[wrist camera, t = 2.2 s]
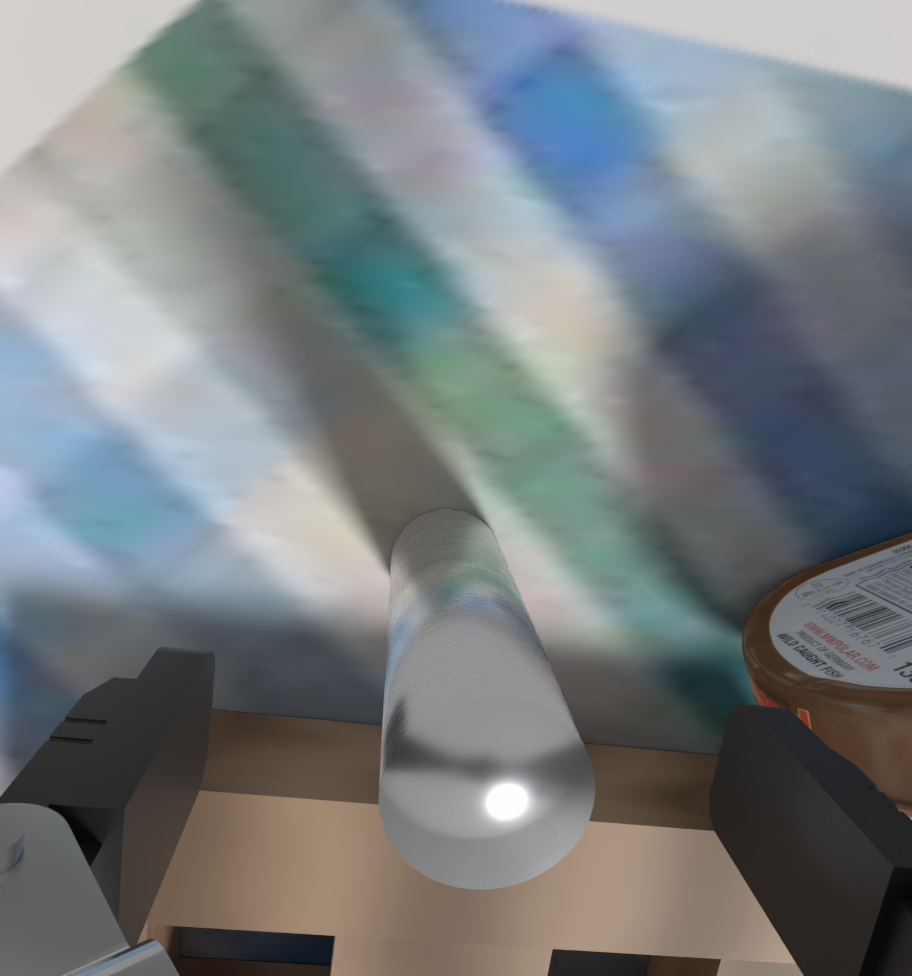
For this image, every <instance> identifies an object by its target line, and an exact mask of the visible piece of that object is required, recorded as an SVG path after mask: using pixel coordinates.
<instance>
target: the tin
mask: <svg viewBox="0 0 912 976" xmlns="http://www.w3.org/2000/svg"><path fill="white" fill-rule="evenodd" d="M742 648H743V655H744V660H745V665H746V669H747V673H748V676H749V680H750V683H751V687H752V690H753V693H754V697H755V700H756V703H757V705H761V706H771V707H781V708H788V709H790V710H791V711H792V712H794V713H795V714H796V715H797V716H798V717H799V718H800V719H801V720H802V721H803V722H804V723H805V724H806V725H807V726H808V727H809V728H810V729H811V730H812V731H813V732H814V733H815V734H816V735H817V736H818V737H819V738H820V739H821V740H822V741H823V742H824V743H825V744H826V745H827V746H828V747H829V748H830V749H832V750H834V751H835V752H837V753H838V754H840V755H841V756H843V757H844V758H846V759H848V760H849V761H851V762H852V763H854V764H855V765H856V766H857V767H858V768H859V769H860V770H861V771H862V772H863V773H864V774H865V775H866V776H867V777H868V778H869V779H870V780H871V781H872V782H873V783H874V784H875V785H876V786H878V791H879V792H884V793H885V794H886V795H887V796H888V797H889V798H890V799H891V800H892V801H893V802H894V803H895V804H896V805H897V806H898V811H900V812H904V813H905V814H906V815H907V816H908V817H909V818H912V532H911V533H908V534H905V535H902V536H899V537H896V538H893V539H890V540H887V541H884V542H881V543H879V544H876V545H873V546H870V547H867V548H864V549H862V550H859V551H856V552H853V553H850V554H847V555H845V556H842V557H839V558H836V559H833V560H830V561H828V562H825V563H822V564H820V565H817V566H815V567H812V568H810V569H807V570H805V571H803V572H801V573H799V574H797V575H795V576H793V577H791V578H790V579H788V580H786V581H784V582H783V583H781V584H780V585H778V586H777V587H776V588H774V589H773V590H771V591H770V592H769V593H767V594H766V595H765V596H764V597H763V598H762V599H761V600H760V601H759V602H758V603H757V604H756V605H755V607H754V608H753V609H752V611H751V612H750V614H749V616H748V618H747V620H746V622H745V625H744V628H743V633H742Z"/></svg>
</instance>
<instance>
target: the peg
mask: <svg viewBox="0 0 912 976" xmlns="http://www.w3.org/2000/svg"><path fill="white" fill-rule="evenodd" d="M594 799H595V777H594V771H593V766H592V763H591V760H590V757H589V755H588V752H587V750H586V747H585V745H584V743H583V740H582V738H581V736H580V733H579V731H578V729H577V726H576V724H575V722H574V719H573V717H572V715H571V712H570V710H569V707H568V705H567V703H566V700H565V698H564V696H563V693H562V691H561V689H560V686H559V684H558V682H557V679H556V677H555V675H554V672H553V670H552V668H551V665H550V663H549V660H548V658H547V656H546V653H545V651H544V649H543V646H542V644H541V642H540V639H539V637H538V635H537V632H536V630H535V628H534V625H533V623H532V621H531V618H530V616H529V613H528V611H527V609H526V606H525V604H524V602H523V599H522V597H521V595H520V592H519V590H518V588H517V585H516V583H515V581H514V578H513V576H512V574H511V571H510V569H509V566H508V564H507V562H506V559H505V557H504V555H503V552H502V550H501V548H500V545H499V543H498V541H497V539H496V537H495V535H494V533H493V532H492V530H491V529H490V528H489V527H488V526H487V525H486V524H485V523H484V522H483V521H482V520H481V519H479V518H477V517H476V516H474V515H472V514H470V513H468V512H465V511H461V510H456V509H439V510H433V511H430V512H427V513H424V514H422V515H420V516H418V517H417V518H415V519H414V520H412V521H411V522H410V523H409V524H408V525H407V526H406V527H405V528H404V529H403V530H402V531H401V533H400V534H399V536H398V538H397V540H396V542H395V544H394V547H393V550H392V555H391V570H390V589H389V608H388V628H387V647H386V666H385V685H384V705H383V724H382V743H381V762H380V781H379V812H380V817H381V821H382V825H383V827H384V830H385V832H386V835H387V837H388V839H389V840H390V842H391V844H392V845H393V847H394V849H395V850H396V851H397V852H398V853H399V855H400V856H401V857H402V858H403V859H404V860H405V861H406V862H407V863H408V864H409V865H410V866H412V867H413V868H414V869H416V870H417V871H419V872H420V873H421V874H423V875H425V876H427V877H429V878H431V879H433V880H435V881H438V882H440V883H443V884H446V885H450V886H454V887H458V888H465V889H479V890H487V889H497V888H503V887H508V886H512V885H516V884H519V883H522V882H525V881H527V880H529V879H532V878H534V877H536V876H538V875H540V874H541V873H543V872H545V871H546V870H548V869H550V868H551V867H552V866H554V865H555V864H556V863H558V862H559V861H560V860H561V859H562V858H563V857H564V856H565V855H566V854H567V853H568V852H569V851H570V850H571V849H572V848H573V847H574V845H575V844H576V843H577V841H578V840H579V839H580V837H581V835H582V834H583V832H584V830H585V828H586V826H587V824H588V821H589V819H590V816H591V813H592V809H593V806H594Z"/></svg>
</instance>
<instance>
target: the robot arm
mask: <svg viewBox="0 0 912 976" xmlns="http://www.w3.org/2000/svg"><path fill="white" fill-rule="evenodd" d="M214 669H215V658H214V653H213V652H209V651H199V650H188V649H178V648H167V647H160V648H159V649H158V650H157V651H156V653H155V654H154V655H153V657H152V658H151V660H150V661H149V662H148V664H147V665H146V667H145V668H144V670H143V671H142V672H141V674H140V675H139V677H138V678H137V679H125V678H113V679H111V680H109V681H107V682H106V683H104V684H102V685H100V686H99V687H97V688H95V689H93V690H92V691H90V692H88V693H86V694H84V695H83V696H82V698H81V699H80V700H79V701H78V702H77V704H76V705H75V706H74V707H73V709H72V710H71V711H70V712H69V714H68V715H67V716H66V717H65V721H64V722H61V723H60V725H59V726H58V727H57V728H56V729H55V731H54V732H53V733H52V734H51V736H50V739H49V741H46V742H45V743H44V744H43V745H42V747H41V748H40V749H39V750H38V752H37V753H36V754H35V755H34V756H33V758H32V759H31V760H30V761H29V763H28V764H27V765H26V766H25V767H24V769H23V770H22V771H21V772H20V774H19V775H18V776H17V777H16V779H15V780H14V781H13V782H12V783H11V785H10V786H9V787H8V788H7V790H6V791H5V792H4V793H3V794H2V796H1V797H0V976H179V974H178V972H177V970H176V968H175V967H174V965H173V963H172V961H171V959H170V957H169V956H168V954H167V952H166V951H165V949H164V948H163V947H162V946H161V944H160V943H159V942H157V941H156V940H154V939H147V940H145V941H143V942H141V943H138V944H137V942H138V940H139V938H140V935H141V933H142V930H143V928H144V925H145V923H146V920H147V918H148V916H149V913H150V911H151V908H152V906H153V903H154V901H155V898H156V896H157V894H158V891H159V889H160V886H161V884H162V881H163V879H164V876H165V874H166V872H167V869H168V867H169V864H170V862H171V859H172V857H173V854H174V852H175V850H176V847H177V845H178V842H179V840H180V837H181V835H182V832H183V830H184V827H185V825H186V823H187V820H188V818H189V815H190V813H191V810H192V808H193V805H194V803H195V801H196V798H197V796H198V793H199V790H200V787H201V783H202V779H203V775H204V771H205V766H206V760H207V753H208V744H209V731H210V719H211V707H212V694H213V682H214ZM709 806H710V816H711V821H712V825H713V828H714V830H715V833H716V835H717V836H718V838H719V840H720V841H721V843H722V845H723V846H724V848H725V849H726V851H727V853H728V854H729V856H730V857H731V859H732V861H733V862H734V864H735V866H736V867H737V869H738V870H739V872H740V874H741V875H742V877H743V878H744V880H745V882H746V883H747V885H748V887H749V888H750V890H751V891H752V893H753V895H754V896H755V898H756V900H757V901H758V903H759V904H760V906H761V908H762V909H763V911H764V912H765V914H766V916H767V917H768V919H769V921H770V922H771V924H772V925H773V927H774V929H775V930H776V932H777V933H778V935H779V937H780V938H781V940H782V942H783V943H784V945H785V946H786V948H787V950H788V951H789V953H790V955H791V956H792V958H793V959H794V961H795V963H796V964H797V966H798V967H799V969H800V971H801V972H802V974H803V976H912V820H911V819H910V818H909V817H908V816H907V815H906V814H905V813H904V812H900V811H898V806H897V805H896V804H895V803H894V802H893V801H892V800H891V799H890V798H889V797H888V796H887V795H886V794H885V793H884V792H879V791H878V786H876V785H875V784H874V783H873V782H872V781H871V780H870V779H869V778H868V777H867V776H866V775H865V774H864V773H863V772H862V771H861V770H860V769H859V768H858V767H857V766H856V765H855V764H854V763H852V762H851V761H849V760H848V759H846V758H844V757H843V756H841V755H840V754H838V753H837V752H835V751H834V750H832V749H830V748H829V747H828V746H827V745H826V744H825V743H824V742H823V741H822V740H821V739H820V738H819V737H818V736H817V735H816V734H815V733H814V732H813V731H812V730H811V729H810V728H809V727H808V726H807V725H806V724H805V723H804V722H803V721H802V720H801V719H800V718H799V717H798V716H797V715H796V714H795V713H794V712H792V711H791V710H790V709H788V708H781V707H771V706H761V705H750V704H738V705H737V706H735V707H734V709H733V710H732V712H731V714H730V716H729V719H728V723H727V727H726V731H725V735H724V739H723V743H722V747H721V750H720V754H719V758H718V762H717V766H716V770H715V774H714V778H713V782H712V786H711V791H710V798H709Z"/></svg>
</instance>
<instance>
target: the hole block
mask: <svg viewBox="0 0 912 976" xmlns="http://www.w3.org/2000/svg"><path fill="white" fill-rule="evenodd" d="M381 743H382V725H376V724H365V723H353V722H342V721H331V720H320V719H309V718H298V717H287V716H276V715H264V714H253V713H242V712H231V711H220V710H211V719H210V731H209V744H208V753H207V760H206V766H205V771H204V775H203V779H202V783H201V787H200V790H199V793H198V796H197V798H196V801H195V803H194V805H193V808H192V810H191V813H190V815H189V818H188V820H187V823H186V825H185V827H184V830H183V832H182V835H181V837H180V840H179V842H178V845H177V847H176V850H175V852H174V854H173V857H172V859H171V862H170V864H169V867H168V869H167V872H166V874H165V876H164V879H163V881H162V884H161V886H160V889H159V891H158V894H157V896H156V898H155V901H154V903H153V906H152V908H151V911H150V913H149V916H148V918H147V920H146V923H145V925H144V928H143V930H142V933H141V935H140V938H139V940H138V942H137V944H138V943H141V942H143V941H145V940H147V939H154V940H156V941H157V942H159V943H160V944H161V946H162V947H163V948H164V949H165V951H166V952H167V954H168V956H169V957H170V959H171V961H172V963H173V965H174V967H175V968H176V970H177V972H178V974H179V976H547V975H548V970H549V965H550V960H551V955H552V950H553V949H561V950H578V951H594V952H611V953H627V954H644V955H651V956H650V961H649V965H648V969H647V973H646V976H803V974H802V972H801V971H800V969H799V967H798V966H797V964H796V963H795V961H794V959H793V958H792V956H791V955H790V953H789V951H788V950H787V948H786V946H785V945H784V943H783V942H782V940H781V938H780V937H779V935H778V933H777V932H776V930H775V929H774V927H773V925H772V924H771V922H770V921H769V919H768V917H767V916H766V914H765V912H764V911H763V909H762V908H761V906H760V904H759V903H758V901H757V900H756V898H755V896H754V895H753V893H752V891H751V890H750V888H749V887H748V885H747V883H746V882H745V880H744V878H743V877H742V875H741V874H740V872H739V870H738V869H737V867H736V866H735V864H734V862H733V861H732V859H731V857H730V856H729V854H728V853H727V851H726V849H725V848H724V846H723V845H722V843H721V841H720V840H719V838H718V836H717V835H716V833H715V830H714V828H713V825H712V821H711V816H710V806H709V798H710V791H711V786H712V782H713V778H714V774H715V770H716V766H717V762H718V758H719V755H709V754H698V753H687V752H676V751H665V750H653V749H642V748H631V747H620V746H609V745H598V744H587V743H584V745H585V747H586V750H587V752H588V755H589V757H590V760H591V763H592V766H593V771H594V777H595V799H594V806H593V809H592V813H591V816H590V819H589V821H588V824H587V826H586V828H585V830H584V832H583V834H582V835H581V837H580V839H579V840H578V841H577V843H576V844H575V845H574V847H573V848H572V849H571V850H570V851H569V852H568V853H567V854H566V855H565V856H564V857H563V858H562V859H561V860H560V861H559V862H558V863H556V864H555V865H554V866H552V867H551V868H550V869H548V870H546V871H545V872H543V873H541V874H540V875H538V876H536V877H534V878H532V879H529V880H527V881H525V882H522V883H519V884H516V885H512V886H508V887H503V888H497V889H487V890H479V889H465V888H458V887H454V886H450V885H446V884H443V883H440V882H438V881H435V880H433V879H431V878H429V877H427V876H425V875H423V874H421V873H420V872H419V871H417V870H416V869H414V868H413V867H412V866H410V865H409V864H408V863H407V862H406V861H405V860H404V859H403V858H402V857H401V856H400V855H399V853H398V852H397V851H396V850H395V849H394V847H393V845H392V844H391V842H390V840H389V839H388V837H387V835H386V832H385V830H384V827H383V825H382V821H381V817H380V812H379V781H380V762H381ZM181 927H198V928H214V929H231V930H247V931H264V932H280V933H297V934H313V935H330V936H334V938H333V946H332V954H331V962H330V966H328V965H310V964H293V963H275V962H257V961H240V960H222V959H204V958H186V957H179V954H180V940H181Z"/></svg>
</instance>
